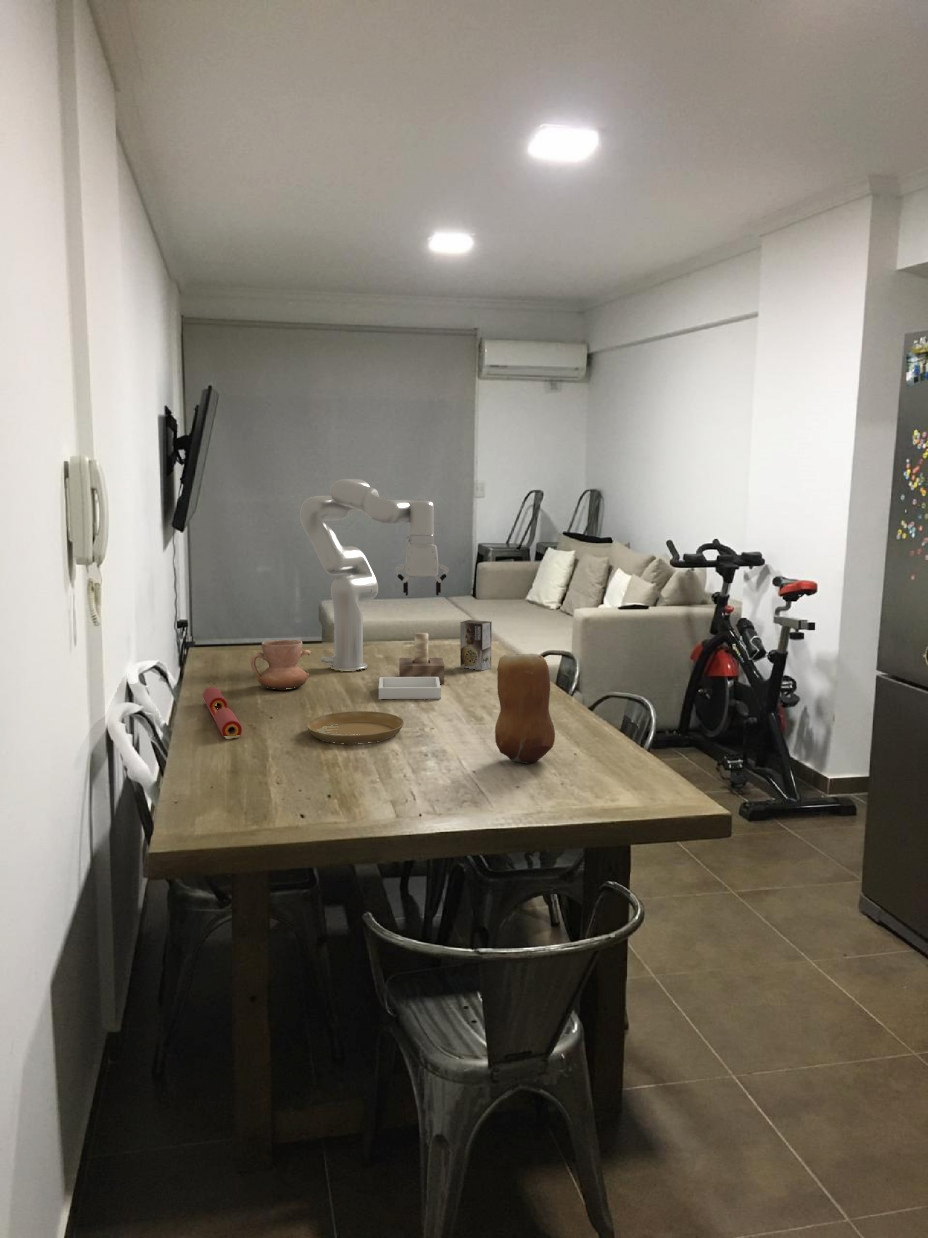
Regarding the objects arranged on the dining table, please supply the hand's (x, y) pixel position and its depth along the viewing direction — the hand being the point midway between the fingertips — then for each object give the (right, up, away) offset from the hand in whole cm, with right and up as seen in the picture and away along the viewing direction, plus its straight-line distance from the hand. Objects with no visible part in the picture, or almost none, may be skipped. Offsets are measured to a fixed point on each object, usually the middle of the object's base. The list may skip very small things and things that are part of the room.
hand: (422, 595), depth 305 cm
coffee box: (+17, -25, +25) cm, 39 cm away
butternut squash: (+27, -40, -86) cm, 98 cm away
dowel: (0, -27, +4) cm, 27 cm away
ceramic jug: (-43, -29, -9) cm, 52 cm away
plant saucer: (-14, -37, -62) cm, 74 cm away
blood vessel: (-51, -35, -49) cm, 79 cm away
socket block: (0, -27, +4) cm, 27 cm away
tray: (-3, -30, -16) cm, 34 cm away
